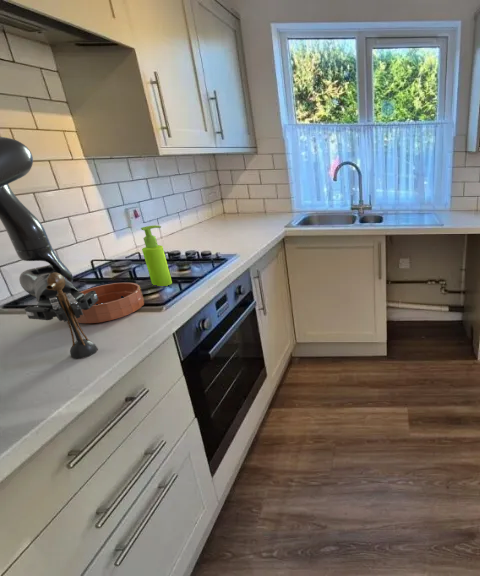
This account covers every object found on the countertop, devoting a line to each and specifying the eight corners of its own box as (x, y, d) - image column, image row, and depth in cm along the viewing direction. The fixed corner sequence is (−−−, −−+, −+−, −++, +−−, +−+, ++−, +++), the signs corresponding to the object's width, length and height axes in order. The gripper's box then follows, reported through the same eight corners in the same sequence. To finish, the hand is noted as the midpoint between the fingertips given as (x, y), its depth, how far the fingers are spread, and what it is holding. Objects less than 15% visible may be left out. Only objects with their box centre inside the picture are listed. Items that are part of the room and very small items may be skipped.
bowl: (79, 331, 94) (72, 312, 92) (67, 312, 105) (60, 295, 102) (153, 309, 105) (147, 292, 103) (135, 294, 116) (130, 278, 114)
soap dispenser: (178, 282, 125) (163, 225, 117) (156, 289, 120) (139, 229, 112) (171, 279, 128) (156, 223, 120) (150, 284, 123) (133, 227, 116)
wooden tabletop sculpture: (91, 358, 82) (59, 276, 74) (66, 363, 80) (30, 280, 72) (99, 345, 87) (70, 267, 79) (76, 349, 85) (44, 270, 78)
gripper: (12, 289, 82) (21, 310, 72) (86, 272, 92) (103, 290, 81) (26, 318, 85) (36, 343, 74) (96, 299, 95) (114, 319, 84)
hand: (71, 315), depth 78 cm, fingers closed on wooden tabletop sculpture, 1 cm apart
